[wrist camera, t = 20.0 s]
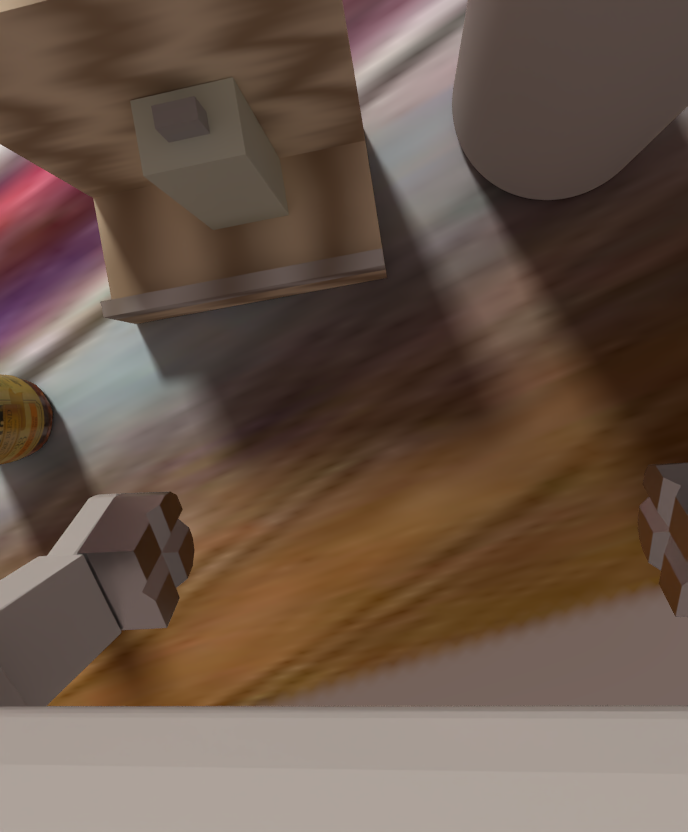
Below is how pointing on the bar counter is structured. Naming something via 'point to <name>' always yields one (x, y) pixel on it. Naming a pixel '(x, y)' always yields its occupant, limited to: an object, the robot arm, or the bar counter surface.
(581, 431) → the bar counter surface
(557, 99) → the cylinder vase
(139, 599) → the robot arm
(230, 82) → the beige block
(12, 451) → the sauce bottle
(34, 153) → the back board shelf
